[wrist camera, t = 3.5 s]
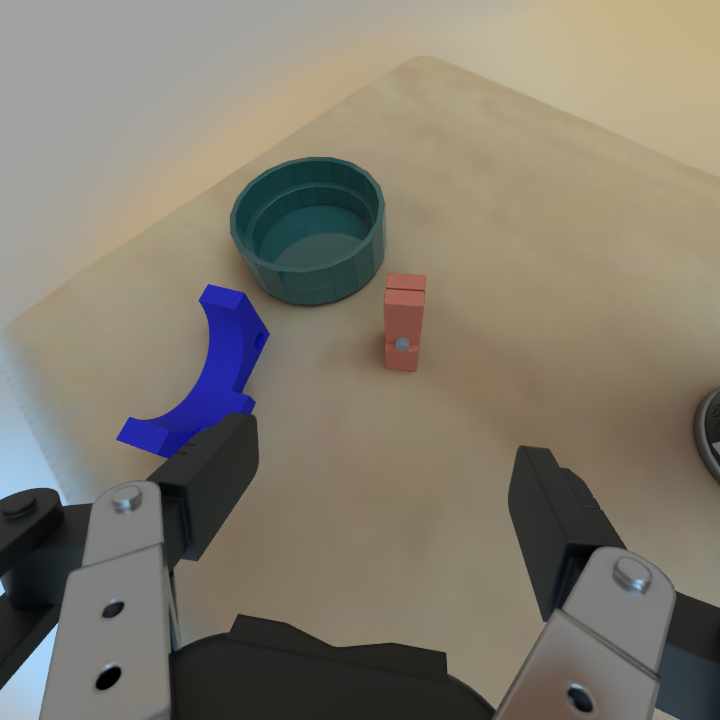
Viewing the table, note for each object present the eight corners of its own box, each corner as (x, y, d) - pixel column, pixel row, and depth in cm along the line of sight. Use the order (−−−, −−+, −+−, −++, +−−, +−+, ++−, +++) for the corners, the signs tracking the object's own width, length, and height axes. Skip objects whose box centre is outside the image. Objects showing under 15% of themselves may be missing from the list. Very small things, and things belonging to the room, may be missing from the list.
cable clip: (221, 477, 27) (178, 462, 22) (169, 458, 28) (115, 439, 23) (285, 338, 32) (263, 297, 27) (238, 326, 33) (208, 284, 28)
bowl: (392, 203, 38) (391, 157, 33) (377, 313, 32) (374, 276, 28) (268, 199, 39) (252, 155, 35) (234, 303, 34) (210, 267, 30)
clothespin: (419, 334, 31) (426, 267, 23) (416, 372, 30) (423, 314, 22) (390, 332, 31) (388, 265, 24) (385, 369, 30) (382, 311, 22)
